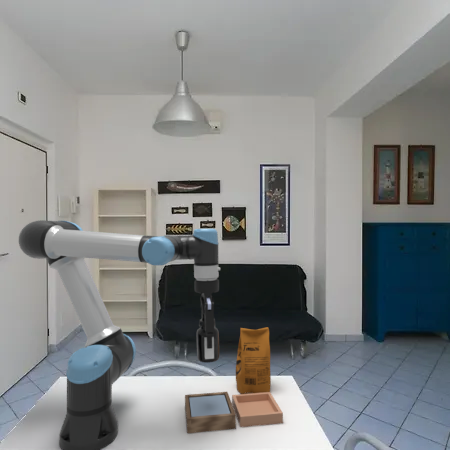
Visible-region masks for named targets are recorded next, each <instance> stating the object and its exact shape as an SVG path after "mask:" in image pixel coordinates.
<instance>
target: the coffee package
mask: <svg viewBox="0 0 450 450" xmlns="http://www.w3.org/2000/svg"><path fill="white" fill-rule="evenodd" d="M239 333H240V336H239V341H238V347H237V357H236V362H235V383H236V386H237V387H236V388H237V391H238V393H239V394H252V393H264V392H270V393H271V380H272V379H271V377H272V376H271V344H270V329H269V327H262V328H258V329H257V328H256V329H250V328H245V327H244V328H243V327H240V332H239Z"/></svg>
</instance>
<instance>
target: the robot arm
mask: <svg viewBox="0 0 450 450" xmlns="http://www.w3.org/2000/svg"><path fill="white" fill-rule="evenodd" d="M18 245H19V248H20V249H21V251H22V252H23V254H25V256H28V257H30V258H33V259H38V260H39V259H41V260H42V259H43V260H44V259H45V260H46V261H47V263H48V266H49V268H51V269H53V270H56V271H57V273H58V275H59V277H60V280H61V281H62V283H63V284H62V285H63V286H64V288H65V290H66V293H67V295H68V297H69V300H70V302H71V304H72V307H73V309H74V311H75V313H76V315H77V318H78V320H79V323H80V325H81V327H82V329H83V332H84V333H85V335H86V339H87V340H86V342H85V345H84V347H81V348H79V349H77V350H76V351H74V352H73V353H72V354H70V356H69V358H68V360H67V366H66V367H67V368H66V372H65V373H66V414H65V417H64V420H63V422H62V425H61V429H60V431H59V438H58V440H59V447H60V448H61V450H101V449H103V448H105V447H106V446H108V445H109V444H111V443H112V442H113V441H114V440H115V439H116V437H117V435H118V432H119V424H118V423H119V421H118V419H117V418H118V417H117V416H116V413H115V410H114V407H113V403H112V401H113V400H112V395H113V394H112V392H113V391H112V390H113V387H112V386H113V385H114V383H115V382H116V381H117V380H118V379H119V378H120V377H121V376H122V375H124V374H125V373H126V372H127V371H128V370H129V369H130V367H132V364H133V363H134V362H135V358H136V355H137V348H136V344H135V342H134V340H133V339H132V337H130V336H129V335H127V334H125V333H124V332H123V330H122V328H121V326H118V325H115V324H114V323H113V320H112V318H111V315H110V314H109V312H108V309H107V307H106V305H105V302H104V300H103V297H102V296H101V294H100V292H99V289H98V287H97V285H96V283H95V280H94V279H93V278H94V277H92V274H91V271H90V269H89V267H88V266H87V262H86V261H85V259H96V260H109V261H112V260H113V261H122V262H123V261H124V262H136V263H145V264H149V265H151V266H163V265H167V264H168V263H170V262H171V263H172V262H174V261H177V260H179V261H182V260H183V261H184V260H185V261H187V260H193V271H194V272H193V275H194V276H193V277H194V278H195V280H194V292H195V293H198V294H201V295H200V298H199V301H200V308H201V309H200V310H201V319H203V318H204V324H205V335H203V338H204V345H205V359H214V336H215V333H214V319H215V313H214V312H215V307H214V306H215V298H214V296H212V294H214V293H218V292H219V291H220V279H218V278H219V276H220V275H219V271H221V267H219V237H218V231H217V229H215V228H195V229H194V230H193V234H190V235H170V234H169V235H143V234H142V235H141V234H130V233H118V232H117V233H115V232H105V231H103V232H102V231H89V230H83V228H82V227H81V226H80V225H78V224H77V223H75V222H72V221H67V220H35V221H32V222H29V223H27V224H26V225H24V227H22V229H21V231H20V233H19V236H18ZM209 332H210V333H209Z"/></svg>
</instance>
